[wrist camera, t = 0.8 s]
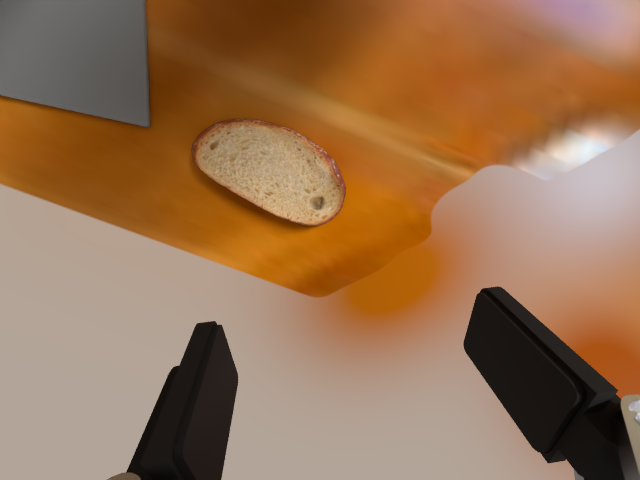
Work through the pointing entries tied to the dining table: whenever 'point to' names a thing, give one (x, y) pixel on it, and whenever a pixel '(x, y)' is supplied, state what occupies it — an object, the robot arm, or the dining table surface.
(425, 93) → the dining table surface
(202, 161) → the slice of bread
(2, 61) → the slate mat
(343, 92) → the dining table surface
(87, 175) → the dining table surface
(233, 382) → the robot arm
